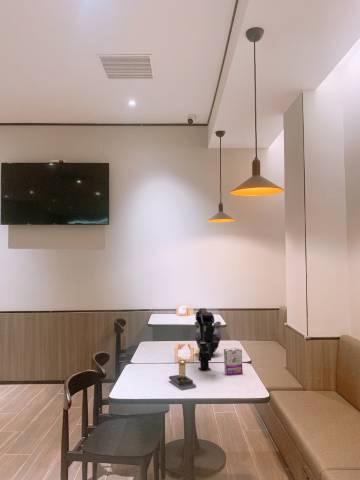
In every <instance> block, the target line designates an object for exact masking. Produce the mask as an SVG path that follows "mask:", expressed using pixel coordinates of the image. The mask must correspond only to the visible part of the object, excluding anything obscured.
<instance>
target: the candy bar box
mask: <svg viewBox="0 0 360 480" xmlns="http://www.w3.org/2000/svg"><path fill="white" fill-rule="evenodd" d="M223 353H224V354H223V356H224V357H223V360H224V361H223V363H224V374H225V375H226V376H227V377H228V376H239V375H243V350H242V348H240V347H234V348H224V349H223Z"/></svg>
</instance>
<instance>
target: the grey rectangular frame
mask: <svg viewBox="0 0 360 480" xmlns="http://www.w3.org/2000/svg"><path fill="white" fill-rule="evenodd" d="M168 379H169V380H170V381H171V384H172V385H174V386H175V387H176V388H177V389H179V390H180V391H185V390H190V389H196V388H197V384H195V383H194V381H193V379H192V378H190V377H188V376H186V380H185V381H179V374H175V375H169V376H168Z"/></svg>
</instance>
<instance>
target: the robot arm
mask: <svg viewBox="0 0 360 480" xmlns="http://www.w3.org/2000/svg"><path fill="white" fill-rule="evenodd" d="M207 310H208V309H207V308H205V307H204V308H203V307H202V308H199V309H198V311H197V312H195V321H196V322H197V324H198V326H199V330H200V338H198V339H197V342H198V344H199V346H200V350H199V349H198V354H197V361H198V362H199V363H200V364H199V365H200V367H198V370H200V371H202V372H205V371H211V369H212V368H209V367H210V365H209V361H210V362H211V361H212V358H211V357H212V356H213V354H214V353H215V352H214V350H215V349H216V348H217V347H218V348H219V346H220V345H218V343H217V342H219V339H220V338H219V337H216V336H215V334H213V333H214V323H215V321H216V320H215V317H214V316H215V315H214V314H213V313H212V311H207ZM220 340H221V339H220ZM213 341H214V342H213ZM215 341H216V342H215ZM197 342H196V343H197ZM219 343H220V342H219ZM207 344H208V346H207ZM218 348H217V349H218Z"/></svg>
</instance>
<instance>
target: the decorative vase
mask: <svg viewBox="0 0 360 480" xmlns="http://www.w3.org/2000/svg"><path fill="white" fill-rule="evenodd" d="M221 326H222V322H221V321H216V322H215V321H214V324H213V327H214V333H213V334H215V336H216V337H219V338H220V339H219V342H217V343H218V346H220V342H221V339H222V337H221V334H220V329H219V328H220V327H221ZM194 327H196V331H195V333H196V334H195V336H194V339H195V342H196V345H197V348H198V351H199V350H200V346H199V344H198V342H197V339H198V338H200V330H199V326H198V324H197V321H195V322H194ZM213 342H214V341H213ZM215 342H216V341H215ZM207 346H208V344H207ZM218 348H219V347H217V348H216V349H215V350H214V353H215V352H216V351H217V349H218ZM214 353H213V356H212V357H211V359H212V358H215V354H214Z"/></svg>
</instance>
